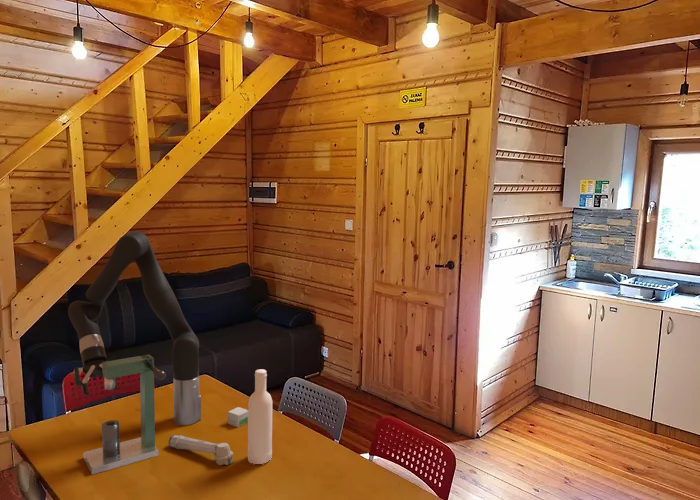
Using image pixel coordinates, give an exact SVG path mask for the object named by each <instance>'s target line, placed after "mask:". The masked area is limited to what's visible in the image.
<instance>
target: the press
mask: <svg viewBox="0 0 700 500" xmlns="http://www.w3.org/2000/svg"><path fill="white" fill-rule="evenodd" d="M102 373H103V376H102V377H104V382H103V383H104V390H106V391H107V390H108V391H110V390H113V389H114V388H115V377H120V378H122V377H125V376H130V375H131V376H132V375H136V374H139V387H140V389H139V391H140V392H139V393H140V395H139V396H140V397H139V398H140V400H139V401H140V437H139V436H138V437H136V438H133V439H129V440H125V441H121V442H120V453H119V454H118V455H116V456H113V457H104V456H103V446H102V447H98V448H95V449H91V450H87V451H84V452H82V454H83V455H82V456H83V460H84V462H85V464H86V465H87V468H88V470H89V472H90V474H91V475H96V474H99V473H102V472H107V471H110V470H115V469H117V468H121V467H124V466H127V465H131V464H133V463H138V462H141V461H144V460H147V459H151V458H155V457H158V456H159V449H158V447H157V445H156V430H155V429H156V428H155V427H156V426H155V425H156V424H155V423H156V420H155V418H156V417H155V414H156V413H155V412H156V411H155V379H156V380H157V381H162V380H164V379H165V378H166V376H167V374H166V372H165V371H164V370H163V369H162V370H161V369H160V370H159V369H158V368H157V367H156V365H155V358H154V357H153V356H152V355H150V354H144V355H138V356H133V357H132V356H131V357H126V358H120V359H114V360H107V362H102Z"/></svg>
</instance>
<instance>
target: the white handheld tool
mask: <svg viewBox="0 0 700 500" xmlns="http://www.w3.org/2000/svg"><path fill="white" fill-rule="evenodd" d="M168 446H169V447H170V448H173V449H177V450H178V451H179V450H187V451H193V452H200V453H201V452H202V453H208V454H213V457H214V459H215V464H217V466H223V465H225V466H226V465H228V466H229V465H230V464H232V463H233V461H234V460H233V456H234V452H233V451H232V450H231V448H230V445H229V444H228V443H227V442H221V443H214V442H210V441H206V440H201V439H195V438H192V437H188V436H184V435H183V434H180V435H176V434H174V435H172V436H170V437H169V439H168Z"/></svg>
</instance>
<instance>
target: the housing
mask: <svg viewBox="0 0 700 500" xmlns="http://www.w3.org/2000/svg"><path fill="white" fill-rule="evenodd" d="M101 436H102V437H101V439H102V441H101V442H102V447H103V456H104V457H113V456H116V455H118V454H119V453H120V441H121V440H120V422H119V420H115V419H113V420H110V419H109V420H107V421H105V422H102V424H101Z"/></svg>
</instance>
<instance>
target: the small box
mask: <svg viewBox="0 0 700 500" xmlns="http://www.w3.org/2000/svg"><path fill="white" fill-rule="evenodd" d="M247 422H248V409H246V408H244V407H243V408H242V407H240V406H238V407H235V408H233V409H231V410H229V411H227V424H228V425H230V426H233V427H235V428H241V425H242V426H244V425H245V424H247Z"/></svg>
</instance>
